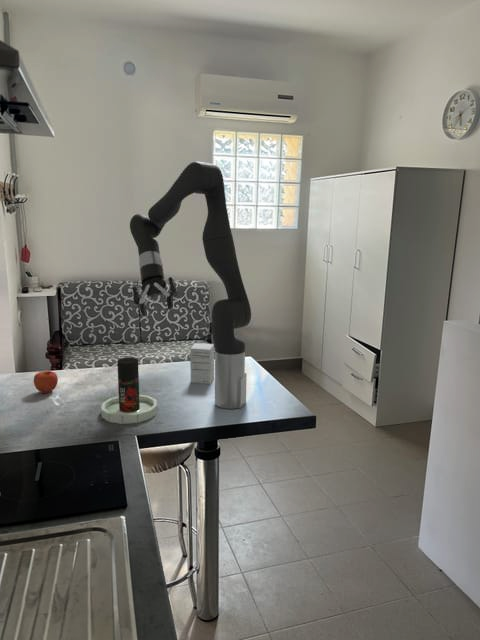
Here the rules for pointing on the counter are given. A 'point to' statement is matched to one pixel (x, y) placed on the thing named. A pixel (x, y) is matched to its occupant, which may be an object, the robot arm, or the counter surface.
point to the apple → (45, 381)
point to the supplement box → (202, 363)
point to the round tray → (116, 416)
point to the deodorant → (128, 385)
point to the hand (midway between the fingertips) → (157, 312)
